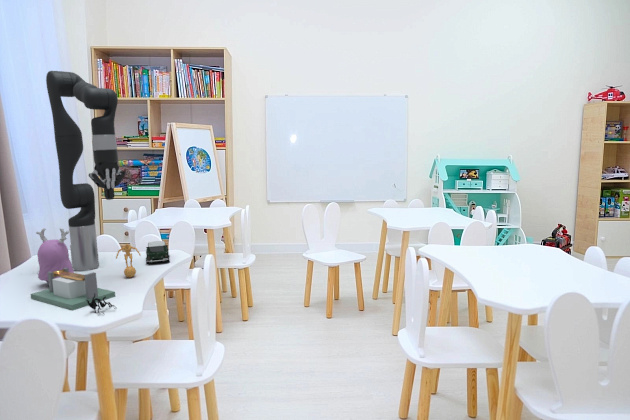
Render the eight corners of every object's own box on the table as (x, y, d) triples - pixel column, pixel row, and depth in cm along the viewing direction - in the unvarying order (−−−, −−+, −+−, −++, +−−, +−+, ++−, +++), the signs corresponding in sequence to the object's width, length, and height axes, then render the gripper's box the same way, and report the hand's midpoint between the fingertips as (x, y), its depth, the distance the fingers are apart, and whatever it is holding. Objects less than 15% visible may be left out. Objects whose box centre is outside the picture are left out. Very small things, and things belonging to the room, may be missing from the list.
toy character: (83, 281, 166) (77, 225, 163) (59, 290, 156) (52, 231, 154) (57, 279, 170) (51, 224, 167) (32, 287, 160) (25, 230, 158)
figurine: (118, 280, 166) (115, 247, 164) (117, 276, 171) (114, 244, 170) (143, 276, 170) (140, 244, 168) (141, 272, 175) (138, 241, 173)
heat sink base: (31, 298, 148) (27, 270, 147) (73, 286, 160) (70, 260, 159) (72, 310, 136) (69, 280, 135) (115, 296, 148) (112, 268, 147)
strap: (52, 276, 150) (51, 271, 150) (61, 274, 153) (61, 269, 152) (82, 282, 141) (82, 276, 141) (92, 280, 144) (91, 274, 144)
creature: (120, 309, 139) (93, 305, 139) (123, 292, 138) (96, 287, 138) (109, 319, 131) (81, 314, 131) (112, 301, 130) (83, 296, 130)
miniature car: (168, 254, 205) (167, 236, 204) (169, 264, 188) (168, 244, 187) (146, 256, 202) (145, 238, 201) (146, 266, 185) (144, 246, 184)
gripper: (115, 148, 166) (119, 197, 168) (80, 149, 155) (85, 201, 157) (129, 147, 162) (133, 197, 164) (93, 148, 151) (98, 202, 153)
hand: (109, 199), depth 161 cm, fingers closed
